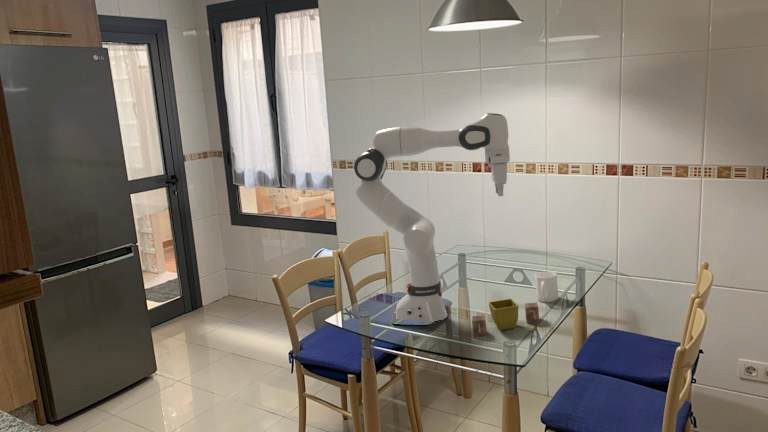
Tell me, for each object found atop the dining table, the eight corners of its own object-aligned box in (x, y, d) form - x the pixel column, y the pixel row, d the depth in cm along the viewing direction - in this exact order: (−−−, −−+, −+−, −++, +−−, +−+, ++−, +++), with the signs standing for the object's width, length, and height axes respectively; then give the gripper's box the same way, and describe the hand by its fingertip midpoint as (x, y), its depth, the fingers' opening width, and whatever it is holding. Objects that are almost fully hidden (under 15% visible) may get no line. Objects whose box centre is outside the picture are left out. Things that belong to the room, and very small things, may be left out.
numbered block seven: (526, 323, 212) (525, 307, 211) (526, 318, 216) (524, 303, 215) (539, 322, 211) (538, 306, 210) (538, 317, 216) (537, 302, 214)
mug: (554, 306, 225) (552, 280, 223) (532, 305, 229) (530, 280, 227) (560, 296, 235) (558, 271, 233) (539, 295, 239) (537, 271, 237)
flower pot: (490, 324, 215) (488, 301, 213) (513, 321, 215) (511, 298, 214) (497, 333, 206) (494, 309, 205) (521, 329, 207) (518, 305, 205)
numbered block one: (473, 337, 206) (472, 321, 205) (474, 332, 210) (472, 316, 209) (486, 336, 205) (484, 320, 204) (486, 331, 209) (484, 315, 208)
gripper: (486, 157, 225) (489, 192, 227) (490, 159, 205) (493, 198, 207) (503, 155, 224) (505, 191, 226) (509, 157, 204) (511, 197, 206)
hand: (499, 194), depth 216 cm, fingers open, 8 cm apart
